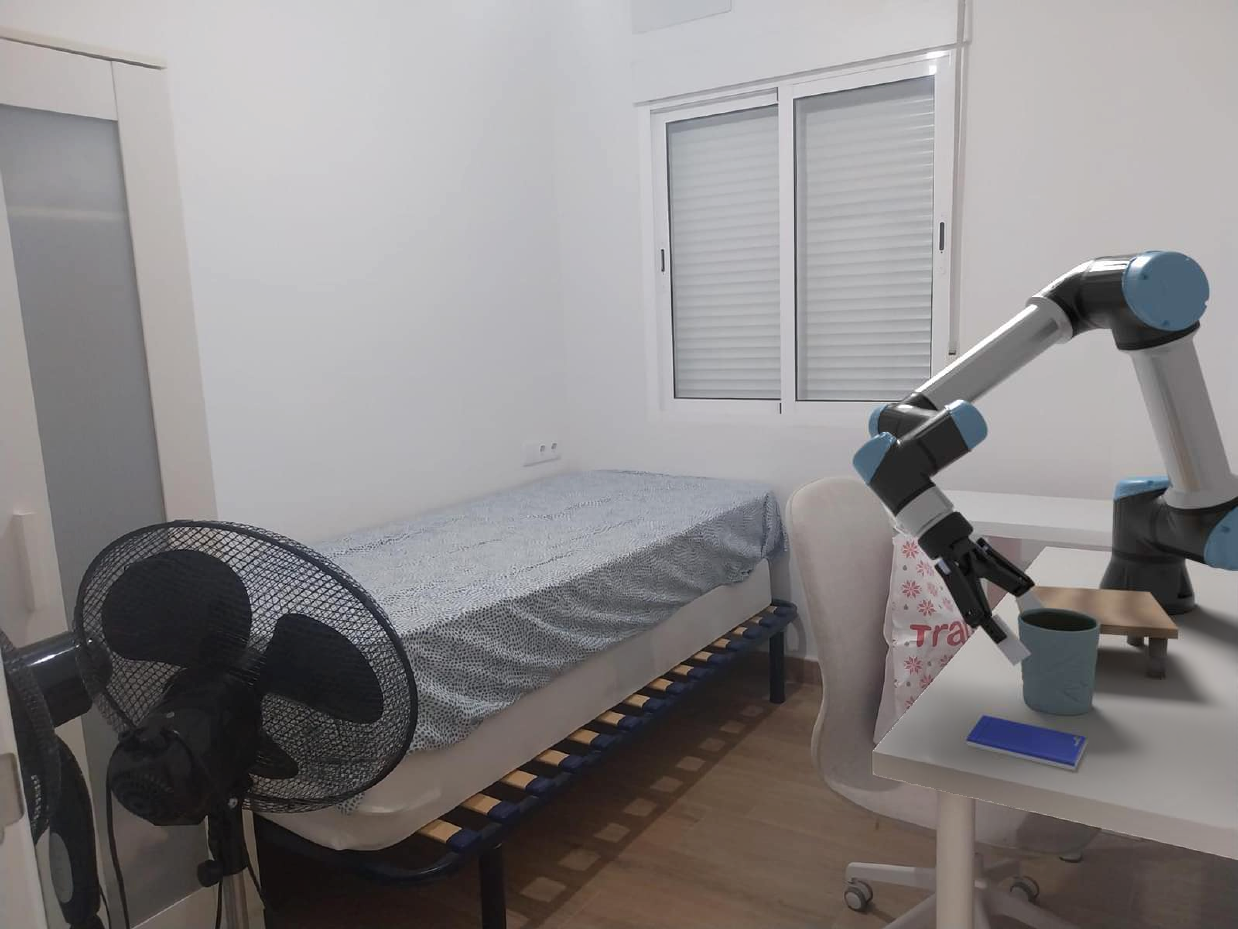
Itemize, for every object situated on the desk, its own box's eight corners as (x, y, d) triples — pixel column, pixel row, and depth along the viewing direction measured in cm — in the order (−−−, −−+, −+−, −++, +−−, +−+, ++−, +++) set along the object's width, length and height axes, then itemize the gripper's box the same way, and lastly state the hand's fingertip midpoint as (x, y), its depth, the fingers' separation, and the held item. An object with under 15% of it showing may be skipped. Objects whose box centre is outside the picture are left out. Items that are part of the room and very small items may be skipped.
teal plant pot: (1106, 720, 120) (1110, 633, 118) (1024, 716, 122) (1027, 630, 120) (1083, 689, 129) (1087, 608, 127) (1008, 685, 131) (1010, 606, 130)
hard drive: (1087, 735, 113) (984, 713, 121) (1074, 762, 107) (966, 737, 114) (1087, 747, 114) (983, 724, 121) (1074, 775, 107) (966, 749, 114)
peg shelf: (1146, 639, 147) (1149, 591, 146) (1175, 682, 130) (1178, 629, 129) (1012, 630, 154) (1014, 584, 152) (1023, 670, 137) (1025, 619, 135)
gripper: (951, 524, 144) (1047, 634, 136) (879, 558, 126) (985, 687, 118) (986, 494, 140) (1087, 607, 132) (917, 525, 121) (1029, 658, 114)
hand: (1039, 645), depth 125 cm, fingers open, 13 cm apart
